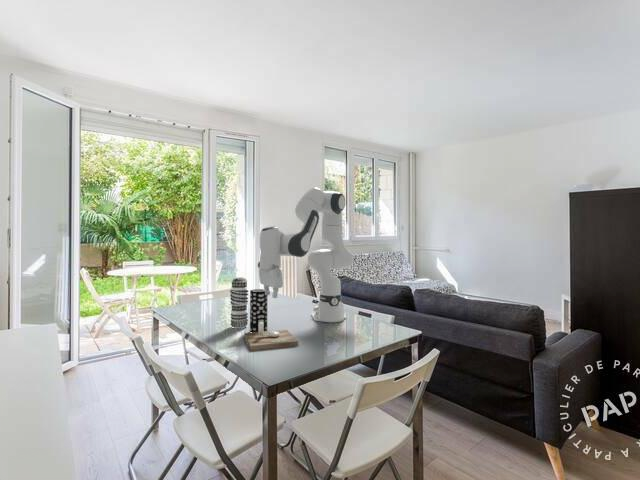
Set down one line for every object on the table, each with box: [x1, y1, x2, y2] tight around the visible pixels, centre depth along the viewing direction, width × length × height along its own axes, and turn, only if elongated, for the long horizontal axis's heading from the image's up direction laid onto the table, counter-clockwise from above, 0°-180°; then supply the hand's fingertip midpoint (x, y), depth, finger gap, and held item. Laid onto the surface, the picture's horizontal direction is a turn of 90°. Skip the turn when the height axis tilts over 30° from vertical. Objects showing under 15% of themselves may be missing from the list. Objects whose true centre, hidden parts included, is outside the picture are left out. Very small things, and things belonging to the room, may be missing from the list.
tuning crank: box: [257, 322, 279, 337], centre depth 155 cm, size 10×4×6 cm, turn 110°
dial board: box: [243, 329, 299, 351], centre depth 155 cm, size 19×20×2 cm
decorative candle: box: [229, 276, 250, 329], centre depth 178 cm, size 9×9×25 cm
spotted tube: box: [249, 288, 268, 333], centre depth 171 cm, size 8×8×20 cm
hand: (271, 296), depth 151 cm, fingers open, 8 cm apart
